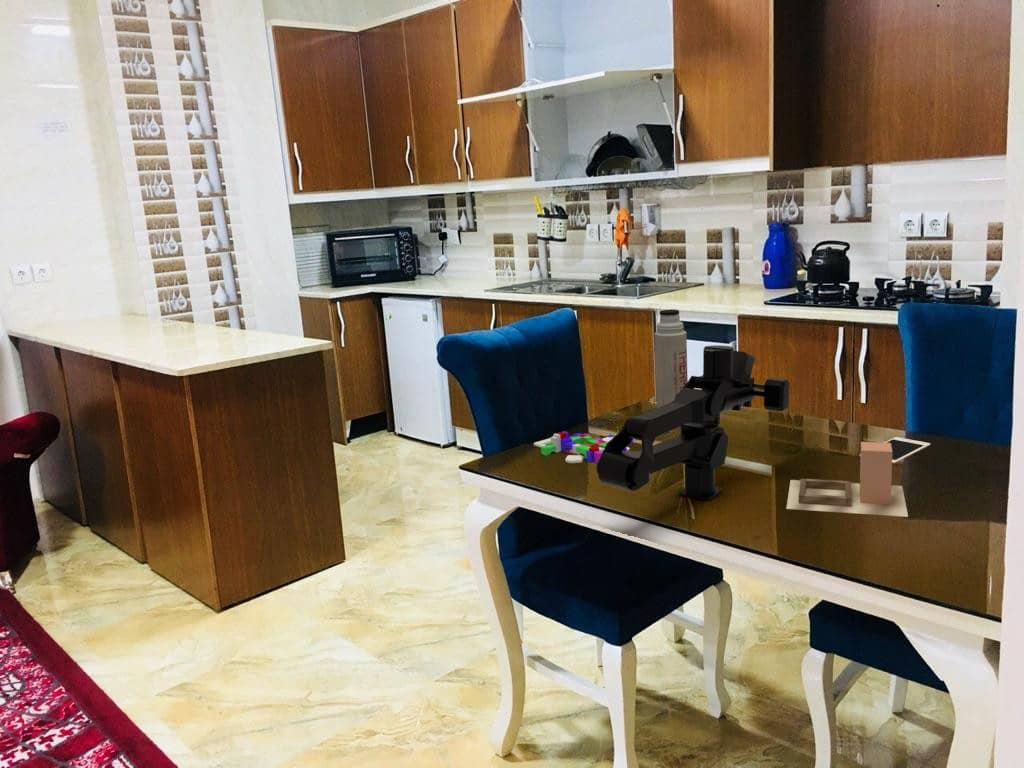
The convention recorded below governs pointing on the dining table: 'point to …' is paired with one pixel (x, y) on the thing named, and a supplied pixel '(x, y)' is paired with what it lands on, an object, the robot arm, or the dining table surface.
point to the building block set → (576, 446)
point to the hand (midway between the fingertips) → (764, 384)
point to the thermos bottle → (670, 357)
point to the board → (840, 498)
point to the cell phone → (904, 448)
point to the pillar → (875, 473)
